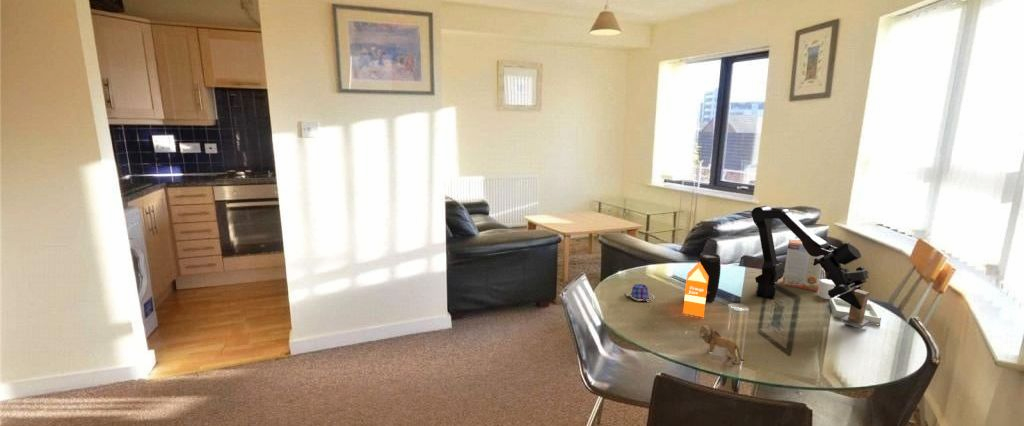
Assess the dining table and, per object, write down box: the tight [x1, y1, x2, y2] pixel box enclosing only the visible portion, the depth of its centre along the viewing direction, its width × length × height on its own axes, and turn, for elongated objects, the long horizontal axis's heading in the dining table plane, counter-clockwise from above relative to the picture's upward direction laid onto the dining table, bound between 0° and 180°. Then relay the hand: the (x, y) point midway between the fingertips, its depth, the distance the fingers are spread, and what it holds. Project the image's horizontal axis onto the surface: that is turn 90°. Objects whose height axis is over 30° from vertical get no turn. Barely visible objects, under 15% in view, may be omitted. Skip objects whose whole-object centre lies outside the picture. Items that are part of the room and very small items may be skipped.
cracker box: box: [782, 239, 825, 292], centre depth 206 cm, size 14×6×21 cm, turn 58°
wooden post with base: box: [840, 289, 870, 329], centre depth 169 cm, size 6×6×12 cm
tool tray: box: [829, 297, 882, 326], centre depth 181 cm, size 14×14×3 cm
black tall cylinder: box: [697, 252, 722, 303], centre depth 191 cm, size 9×9×20 cm
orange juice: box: [682, 262, 709, 318], centre depth 179 cm, size 8×9×20 cm
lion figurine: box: [698, 324, 745, 363], centre depth 149 cm, size 15×5×9 cm, turn 53°
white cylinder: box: [817, 278, 835, 300], centre depth 197 cm, size 7×7×7 cm
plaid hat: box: [630, 283, 655, 302], centre depth 194 cm, size 12×12×5 cm
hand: (862, 307), depth 167 cm, fingers closed on wooden post with base, 4 cm apart
